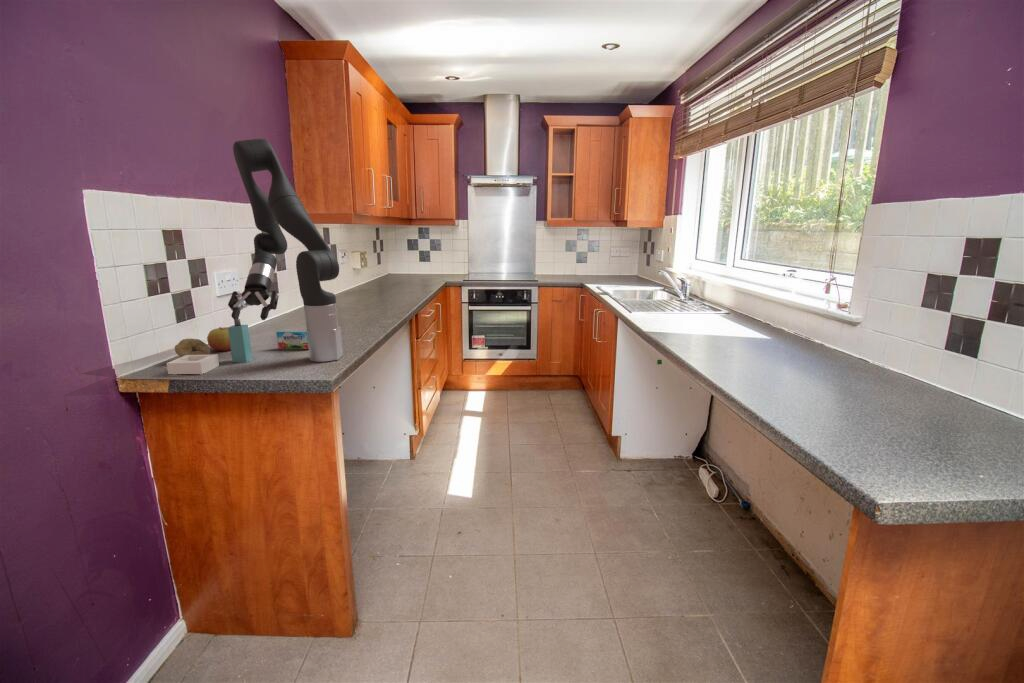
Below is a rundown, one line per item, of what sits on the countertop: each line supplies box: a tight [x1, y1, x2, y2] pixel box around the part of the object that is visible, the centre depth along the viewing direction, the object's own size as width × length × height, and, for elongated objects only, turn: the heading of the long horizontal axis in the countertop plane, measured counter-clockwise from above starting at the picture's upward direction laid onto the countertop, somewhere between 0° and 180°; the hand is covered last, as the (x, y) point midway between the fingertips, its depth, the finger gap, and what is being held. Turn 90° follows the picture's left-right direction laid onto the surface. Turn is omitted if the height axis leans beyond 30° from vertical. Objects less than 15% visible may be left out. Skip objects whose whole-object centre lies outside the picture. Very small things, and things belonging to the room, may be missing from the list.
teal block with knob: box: [228, 318, 254, 364], centre depth 144 cm, size 4×4×13 cm
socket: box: [166, 353, 220, 375], centre depth 135 cm, size 9×9×4 cm
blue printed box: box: [275, 330, 309, 350], centre depth 159 cm, size 12×2×6 cm, turn 83°
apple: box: [206, 326, 231, 352], centre depth 159 cm, size 10×10×8 cm
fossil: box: [174, 338, 211, 357], centre depth 146 cm, size 9×4×10 cm
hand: (248, 319), depth 150 cm, fingers open, 8 cm apart
